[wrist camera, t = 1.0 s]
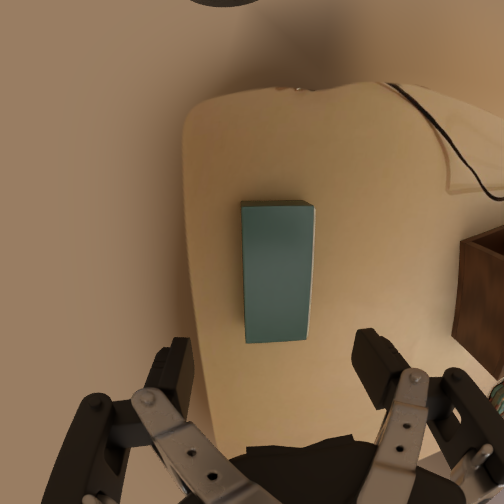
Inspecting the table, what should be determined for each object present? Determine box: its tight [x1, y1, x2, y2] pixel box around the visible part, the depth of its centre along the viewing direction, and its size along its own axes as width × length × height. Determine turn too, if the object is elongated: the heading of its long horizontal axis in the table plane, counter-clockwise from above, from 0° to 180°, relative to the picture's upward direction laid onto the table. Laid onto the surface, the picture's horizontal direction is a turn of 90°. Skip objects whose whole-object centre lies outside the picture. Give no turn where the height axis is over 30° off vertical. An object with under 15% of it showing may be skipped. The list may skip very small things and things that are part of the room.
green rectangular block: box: [241, 200, 316, 343], centre depth 24 cm, size 12×6×4 cm, turn 1°
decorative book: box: [489, 383, 504, 417], centre depth 36 cm, size 13×18×5 cm
